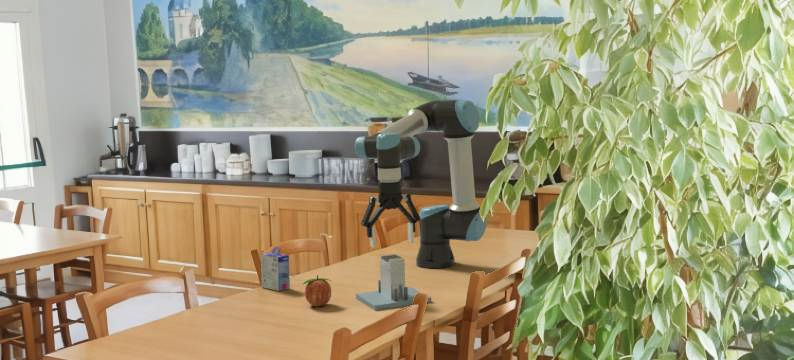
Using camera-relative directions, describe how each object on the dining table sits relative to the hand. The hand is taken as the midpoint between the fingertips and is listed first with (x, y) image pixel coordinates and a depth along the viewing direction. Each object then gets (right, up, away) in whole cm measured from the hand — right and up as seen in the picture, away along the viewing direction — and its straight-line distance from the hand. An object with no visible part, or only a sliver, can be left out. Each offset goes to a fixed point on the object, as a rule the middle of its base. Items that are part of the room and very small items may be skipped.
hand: (391, 244), depth 277 cm
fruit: (-24, -20, -2) cm, 31 cm away
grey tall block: (0, -17, +2) cm, 17 cm away
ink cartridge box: (-41, -17, +23) cm, 51 cm away
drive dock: (0, -18, +2) cm, 19 cm away
